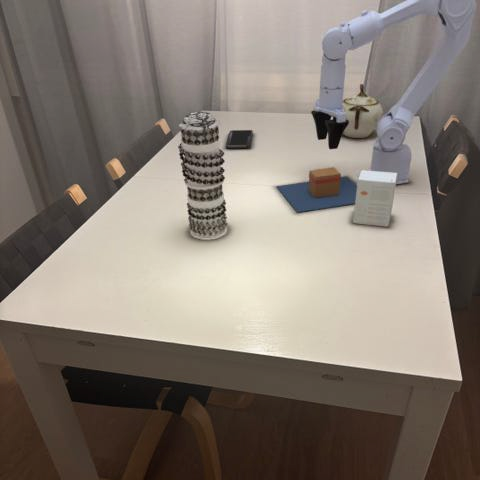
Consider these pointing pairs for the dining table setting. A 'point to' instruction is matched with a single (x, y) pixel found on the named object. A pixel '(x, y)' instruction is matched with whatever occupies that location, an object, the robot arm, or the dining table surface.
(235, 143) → the phone
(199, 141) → the decorative candle
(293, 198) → the napkin
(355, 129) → the sugar bowl
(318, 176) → the packet
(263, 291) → the dining table surface
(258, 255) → the dining table surface
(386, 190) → the small box
